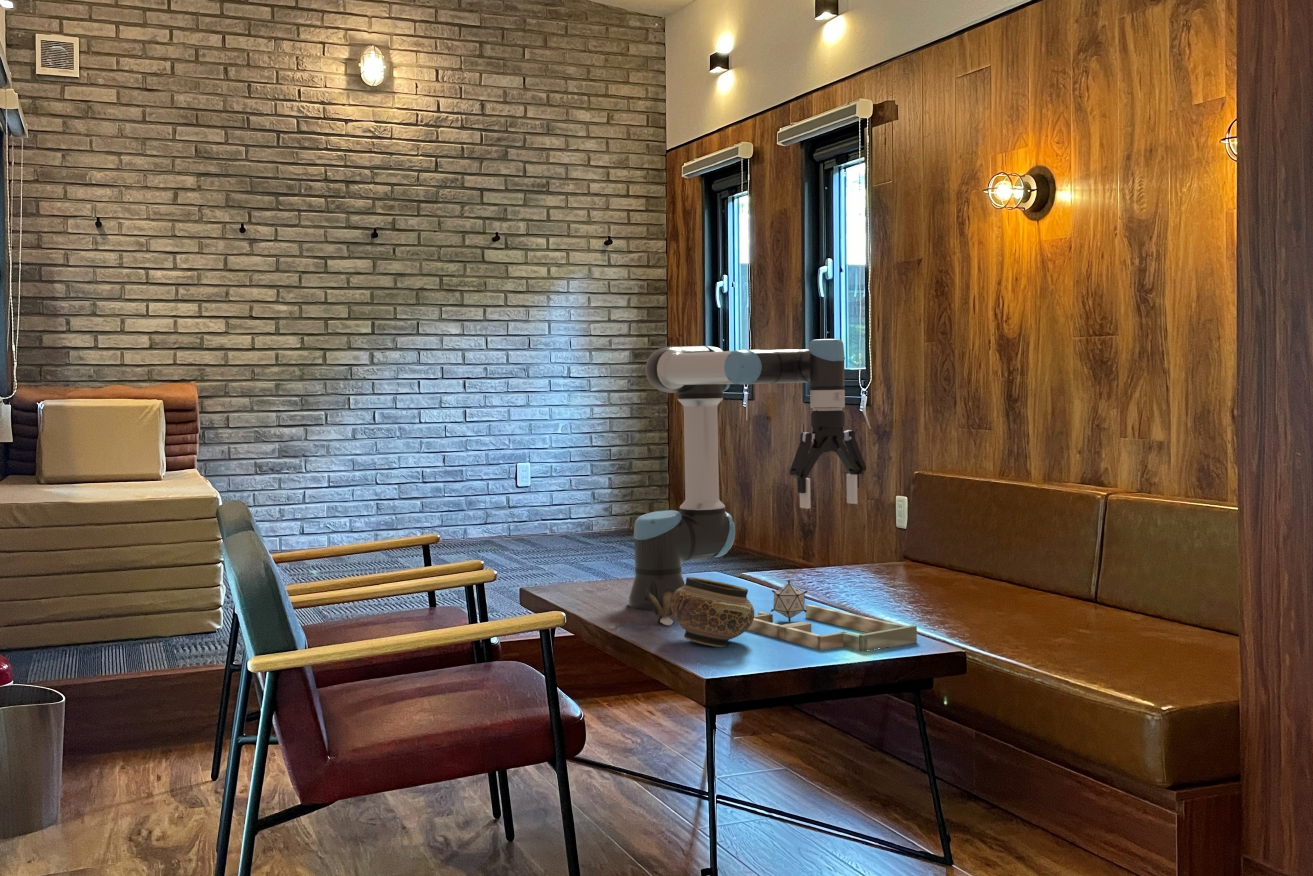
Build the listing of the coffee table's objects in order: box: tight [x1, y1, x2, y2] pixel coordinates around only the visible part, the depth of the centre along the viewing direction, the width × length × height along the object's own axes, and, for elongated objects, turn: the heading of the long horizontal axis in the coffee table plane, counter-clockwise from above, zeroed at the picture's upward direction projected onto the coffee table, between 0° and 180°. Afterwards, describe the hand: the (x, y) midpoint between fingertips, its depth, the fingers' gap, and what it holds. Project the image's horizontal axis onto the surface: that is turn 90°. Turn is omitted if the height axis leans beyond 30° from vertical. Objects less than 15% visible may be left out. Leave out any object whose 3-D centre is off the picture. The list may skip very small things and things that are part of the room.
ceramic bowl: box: [671, 576, 755, 648], centre depth 259 cm, size 24×18×15 cm
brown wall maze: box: [746, 604, 918, 652], centre depth 268 cm, size 35×21×4 cm, turn 33°
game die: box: [770, 579, 809, 623], centre depth 283 cm, size 9×8×10 cm
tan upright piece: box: [646, 586, 676, 626], centre depth 281 cm, size 8×7×9 cm
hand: (829, 505), depth 269 cm, fingers open, 13 cm apart
